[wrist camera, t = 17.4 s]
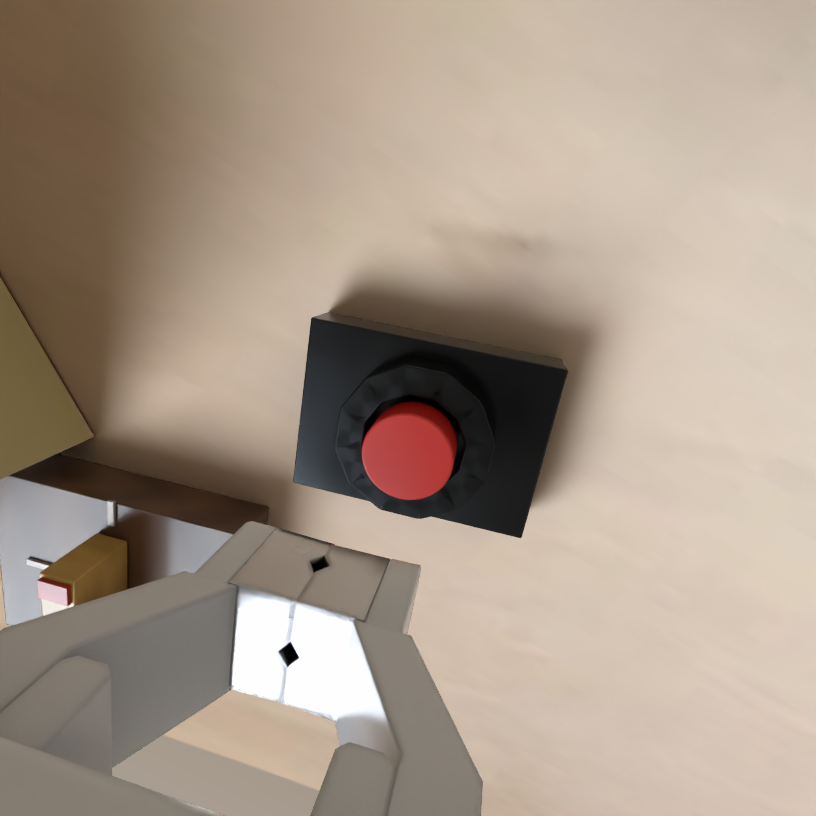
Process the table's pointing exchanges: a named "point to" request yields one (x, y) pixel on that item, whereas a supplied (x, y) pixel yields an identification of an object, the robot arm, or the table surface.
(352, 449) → the black button box
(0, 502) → the lock plate
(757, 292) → the table surface
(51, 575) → the thumb turn
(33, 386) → the book
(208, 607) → the robot arm
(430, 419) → the set button
